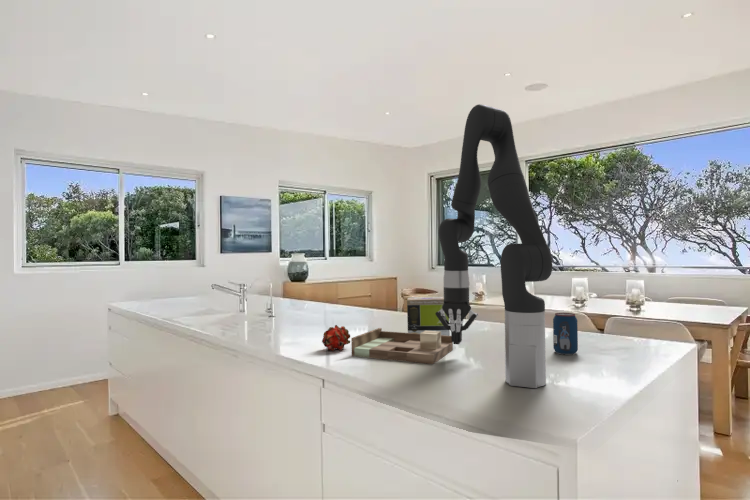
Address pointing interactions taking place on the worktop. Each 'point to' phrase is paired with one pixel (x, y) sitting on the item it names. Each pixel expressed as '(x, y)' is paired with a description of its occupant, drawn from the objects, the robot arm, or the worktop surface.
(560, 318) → the soda can
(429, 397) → the worktop surface
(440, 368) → the worktop surface
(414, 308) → the tea box
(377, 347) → the trap board
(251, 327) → the worktop surface
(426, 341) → the birch block
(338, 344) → the dragon fruit
